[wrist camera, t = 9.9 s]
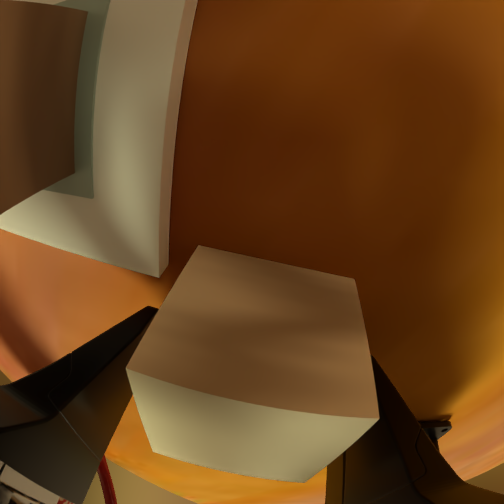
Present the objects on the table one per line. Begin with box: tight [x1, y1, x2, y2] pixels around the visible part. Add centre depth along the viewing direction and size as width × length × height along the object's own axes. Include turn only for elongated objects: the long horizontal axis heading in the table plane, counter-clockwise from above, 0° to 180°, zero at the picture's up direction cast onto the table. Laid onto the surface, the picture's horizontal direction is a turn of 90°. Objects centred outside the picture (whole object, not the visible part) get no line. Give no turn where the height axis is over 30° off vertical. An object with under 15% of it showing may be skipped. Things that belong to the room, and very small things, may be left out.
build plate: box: [0, 0, 198, 278], centre depth 7 cm, size 11×11×1 cm
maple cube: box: [126, 245, 380, 483], centre depth 8 cm, size 5×5×5 cm
